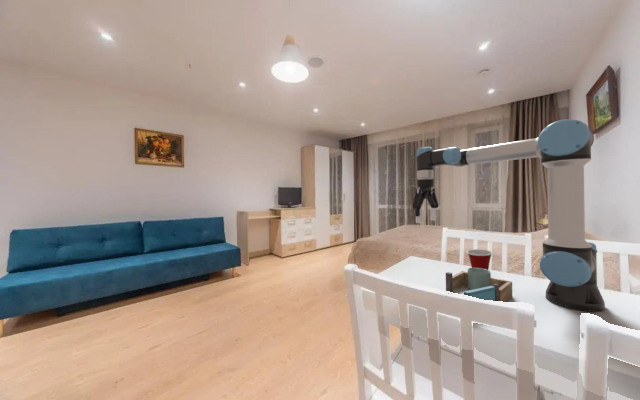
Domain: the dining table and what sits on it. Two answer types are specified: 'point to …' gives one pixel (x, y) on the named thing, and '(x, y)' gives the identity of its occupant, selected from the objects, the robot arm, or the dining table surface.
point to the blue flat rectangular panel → (482, 293)
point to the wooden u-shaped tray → (501, 286)
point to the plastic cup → (479, 258)
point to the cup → (478, 278)
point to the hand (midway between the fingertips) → (426, 221)
